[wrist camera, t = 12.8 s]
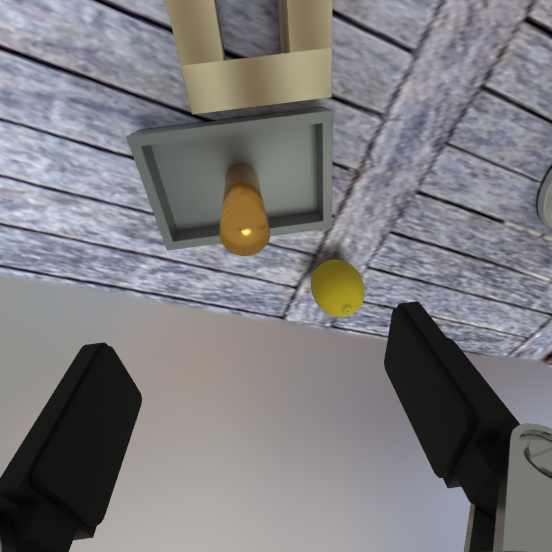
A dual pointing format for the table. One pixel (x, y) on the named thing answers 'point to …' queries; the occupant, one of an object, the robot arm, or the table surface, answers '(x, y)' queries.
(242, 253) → the pin
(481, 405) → the robot arm
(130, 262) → the table surface
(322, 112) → the tray
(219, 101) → the pin block
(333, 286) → the lemon
